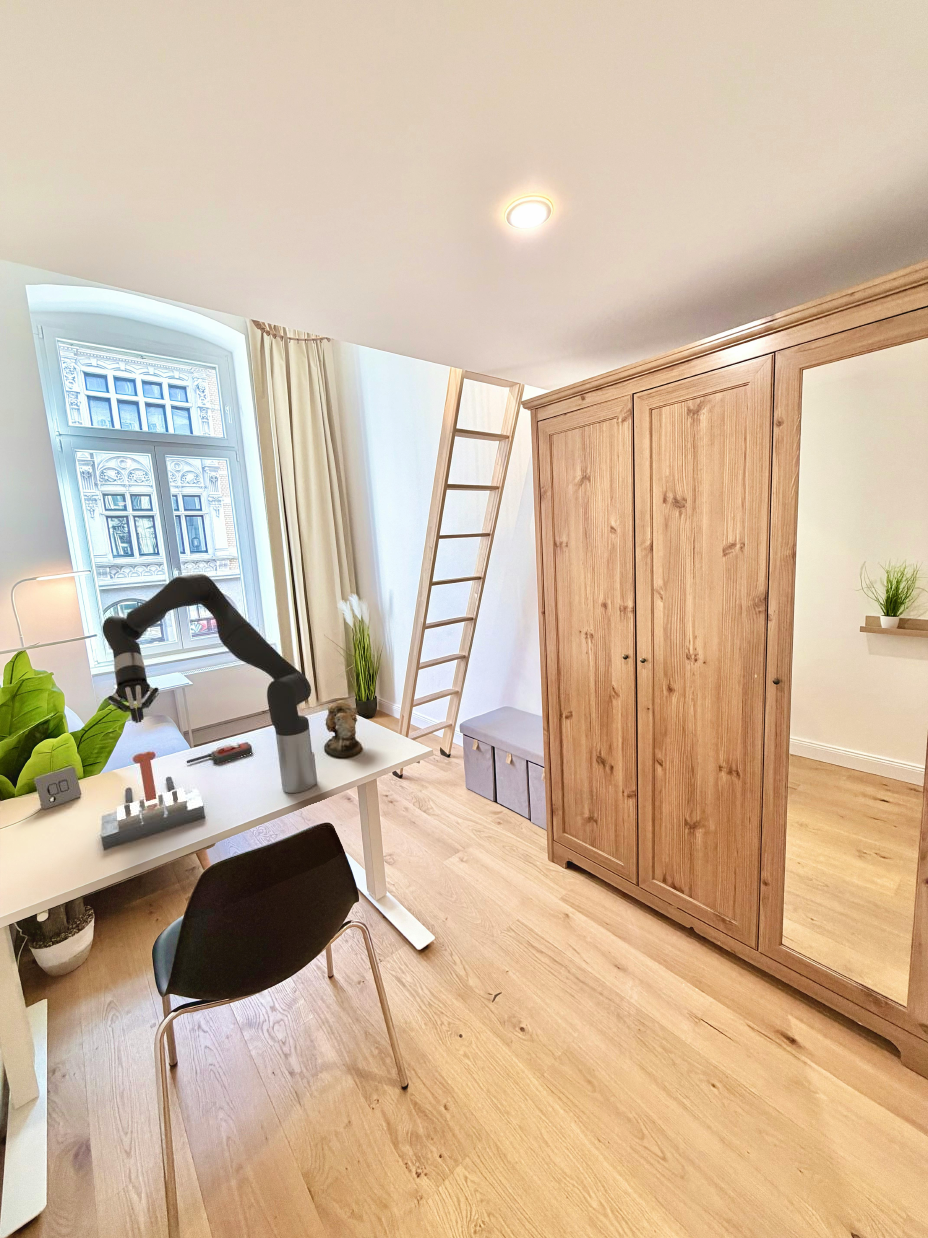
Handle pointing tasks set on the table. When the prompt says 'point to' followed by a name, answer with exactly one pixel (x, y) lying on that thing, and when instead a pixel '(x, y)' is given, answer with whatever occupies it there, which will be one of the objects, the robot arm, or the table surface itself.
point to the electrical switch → (57, 787)
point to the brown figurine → (342, 731)
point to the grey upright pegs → (129, 791)
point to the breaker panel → (151, 817)
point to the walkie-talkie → (226, 753)
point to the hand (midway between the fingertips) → (138, 721)
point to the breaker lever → (146, 773)
